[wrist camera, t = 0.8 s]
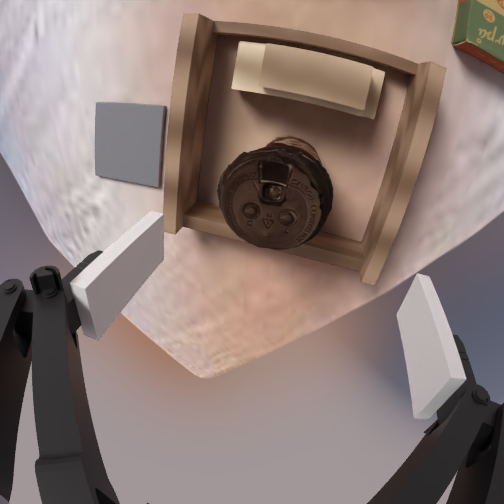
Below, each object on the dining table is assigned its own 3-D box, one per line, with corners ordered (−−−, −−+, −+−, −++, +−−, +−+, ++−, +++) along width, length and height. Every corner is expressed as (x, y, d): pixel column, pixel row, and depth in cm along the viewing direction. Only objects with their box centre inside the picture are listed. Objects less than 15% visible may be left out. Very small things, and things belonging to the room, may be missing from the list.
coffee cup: (294, 107, 29) (275, 120, 18) (347, 166, 31) (359, 215, 20) (236, 161, 33) (189, 204, 22) (287, 214, 35) (267, 280, 24)
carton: (517, -25, 12) (534, -32, 9) (508, 79, 21) (528, 81, 17) (459, -60, 13) (472, -72, 9) (449, 45, 22) (465, 42, 18)
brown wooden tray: (206, 23, 26) (183, 13, 21) (425, 70, 24) (446, 68, 19) (184, 209, 38) (162, 231, 33) (368, 256, 36) (374, 285, 30)
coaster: (98, 102, 33) (96, 102, 32) (165, 105, 32) (163, 106, 31) (98, 173, 38) (95, 175, 37) (160, 185, 37) (158, 187, 36)
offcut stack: (244, 43, 27) (228, 35, 22) (381, 72, 25) (393, 70, 20) (237, 87, 29) (220, 88, 24) (371, 117, 28) (381, 124, 23)
